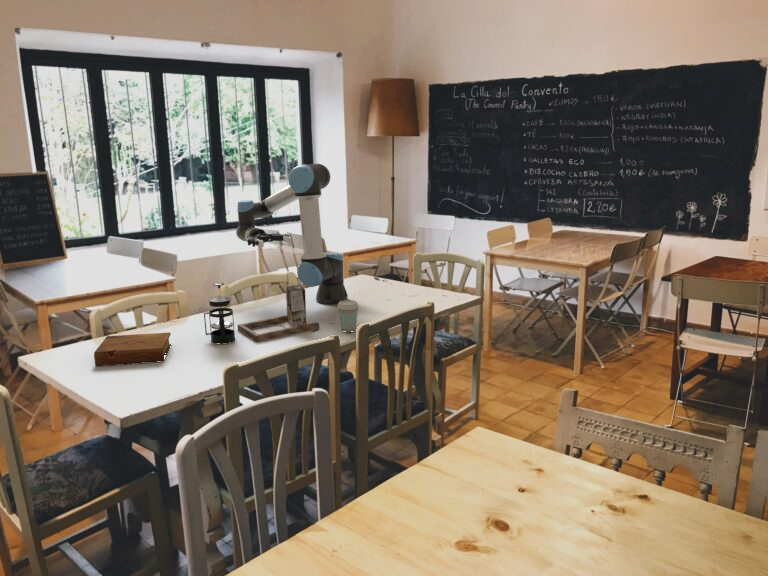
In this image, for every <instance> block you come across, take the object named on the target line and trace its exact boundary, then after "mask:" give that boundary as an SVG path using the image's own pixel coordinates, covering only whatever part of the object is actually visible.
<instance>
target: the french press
mask: <svg viewBox="0 0 768 576" xmlns="http://www.w3.org/2000/svg"><path fill="white" fill-rule="evenodd" d="M224 285H225V283H224V282H216V283H213V286H214V287H217V289H218V294H219V295H216V296H211V297H209V298H208V299H207V301H208V302H209V306H210V307H213V309H210V310H209V311H207V312H203V318H204V320H203V321H204V330H205V335H206V336H210V342H211V343H212V342H213V343H212V344H214V343H220V344H219V345H222V344H221V343H227V344H230V343H229V342H231V343H233V342H235V341H236V336H235V335H236V334H235V325H234V324H235V321H234V319H232V322H231V321H225V318H227V317H230V316H232V317H234V310H233V309H232V308H230V307H228V305H230V302H231V301H232V300H233V298H232V296H228V295H221V286H224ZM224 312H227V313H224ZM206 315H208V316H209V319H211V318H218V320H219V321H217V322H214V323H212V322H211V320H209V328H210V329H209V330H210V332H208V331H207V322H206ZM211 323H212V324H211ZM232 328H233V329H232ZM212 329H214V330H212Z"/></svg>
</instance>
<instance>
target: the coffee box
mask: <svg viewBox="0 0 768 576" xmlns="http://www.w3.org/2000/svg"><path fill="white" fill-rule="evenodd" d="M285 297H286V299H285V300H286V315H287V320H288V324H289V325H290V326H291V327H294V326H299V325H304V324H306V322H307V307H306V304H307V302H306V289H305V288H304V287H303V286H301V285H300V284H297V285H291V286H285Z"/></svg>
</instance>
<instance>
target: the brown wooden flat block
mask: <svg viewBox="0 0 768 576" xmlns="http://www.w3.org/2000/svg"><path fill="white" fill-rule="evenodd" d="M170 337H171V332H155V333H154V332H153V333H141V334H140V333H138V334H122V335H107V336H106V337H105V338H104V339H103V341H102V342H101V343H100V344H99V346H98V347H97V348H96V349H95V351H94V354H93V358H94V365H95V367H104V366H103V365H109V366H117V365H116V364H124V365H133V364H132V363H139V364H143V363H142V362H153V363H158V362H157V361H164V362H165V360H164V355H167V356H168V354H167V353H169V352H168V351H170V350H171V348H170V346H171V347H172V345H171V344H172V343H170ZM169 349H170V350H169ZM165 353H166V354H165Z"/></svg>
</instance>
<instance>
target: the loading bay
mask: <svg viewBox="0 0 768 576" xmlns="http://www.w3.org/2000/svg"><path fill="white" fill-rule="evenodd" d="M274 325H279V326H280V327H282V328H281V329H276V330H271V331H266V332H261V333H257V332H255V331H254V330H253V329H257V328H258V329H259V328H263V327H269V326H274ZM318 328H319V329H320V322H318V321H315V322H311V323H310V322H307V321H306V324H304V325H299V326H294V327H291V326H290V325H289V324H288V320H287V314H285V315H281V316H280V315H279V316H275V317H271V318H265V319H260V320H254V321H250V322H246V323H245V322H243V323H239V324H237V331H238V332H240V333H241V334H243V335H244V336H246V337H247V338H249V339H251V340H252V341H254V342H262V341H268V340H272V339H276V338H281V337H286V336H291V335H295V334H300V333H305V332H309V330H310V331H314V329H315V330H318Z"/></svg>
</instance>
